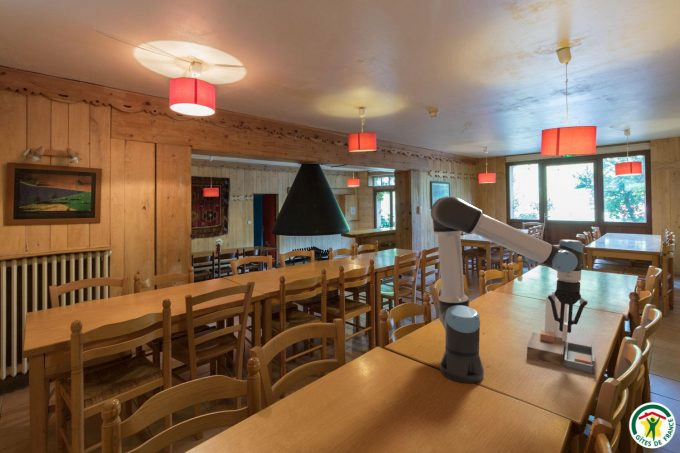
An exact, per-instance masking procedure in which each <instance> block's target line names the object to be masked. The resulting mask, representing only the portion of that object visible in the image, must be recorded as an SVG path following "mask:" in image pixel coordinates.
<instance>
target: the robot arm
mask: <svg viewBox="0 0 680 453" xmlns="http://www.w3.org/2000/svg"><path fill="white" fill-rule="evenodd" d="M430 217H431V219H432V225H433V226H432V227H433V233H434V234H435V235H437V241H438V243H437V244H438V253H439V255H438V256H439V270H440V284H441V294H440V295H439V296H438V309H437V316H438V319H439V321H440V323H441V324H442V326H443V329H444V331H445V346H444V348H445V349H444V352H443V355H442V358H441V360H440V365H439V371H440V373H441V374H442V375H443V376H444V377H445V378H447V379H450V380H452V381H455V382H458V383H463V384H464V383H466V384H473V383H474V384H475V383H479V382H480V381H483V379H484V376H485V368H484V366H483V362H482V360H481V357H480V356H481V355H480V334H481V333H480V327H481V320H480V319H481V318H480V314H479V311H477V310H476V309H474V308H471V307H470V300H469V296H468V295H466V294H465V284H464V269H463V256H462V254H463V253H462V241H461V239H462V238H461V235H462V233H465V234H467V235H470V234H475V235H476V236H479V237H481V238H483V239H486V240H488V241H490V242H492V243H493V244H494V243H495V244H497V245H499V246H501V247H504V248H505V249H508V250H510V251H512V252H514V253H517V254H519V255H520V256H523V257H524V260H525V262H527V264H532V265H533V264H534V265H542V266H544V267H546V268H549V269H552V270H554V271H556V273H557V275H556V278H557V280H556V289H555V291H554V292H555V293H554V294H552V293H551V294H548V296H547V297H548V299H549V300H550V302H551V306H552V311H553V315H554V320H555V321H558V322H559V323H560V326H559V330H560V331H562V332H563V334H562V341H565V342H568V333H569V334H571V333H572V327H573V326H572V325H578V323H579V320H580V317H581V315H582V313H583V310H584V307H586V306H588V303H589V302H588V300H587V299H584V298H583V297H582V295H581V281H582V266H583V254H584V245H583V242H582V241H580V240H576V239H560V240H559V243H558V244H551V243H549V242H547V241H545V240H542V239H540V238H538V237H535V236H534V235H531V234H530V233H527V232H524V231H523V230H520V229H518V228H515V227H513V226H511V225H509V224H507V223H504V222H502V221H499V220H498V219H496V218H493V217H491V216H489V215H487V214H484V213H483V210H482V209H480V208H478V207H476V206H474V205H472V204H469V203H468V202H466V201H465V200H463V199H461V198H459V197H457V196H443V197H440V198H439V199H437V200H435V201H434V203H433V204H432V206H431V209H430ZM555 296H556V297H557V299H558V300H559V301H560V302H561V310H560V318H559V317H558V314H557V309H556V304H555ZM578 301H579V307H578V310H577V312H576V313H575V314H576V315H575V317H574V319H573V308H574V305H575V304H576V303H577V302H578ZM565 304H568V311H567V323H565V322H564V310H565Z"/></svg>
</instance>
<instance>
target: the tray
mask: <svg viewBox="0 0 680 453" xmlns="http://www.w3.org/2000/svg"><path fill="white" fill-rule="evenodd" d="M575 354H579V355H584V356H588V357H591V365H589V364H584V363H580V362H575ZM595 361H596V360H595V348H594V342H593V341H591V345H586V344H580V343H576V342H575V343H574V342H569V341H565V351H564V359H563V367H564V368H565V369H570V370H574V371H577V372H583V373H585V374H586V373H587V374H590V373H592V374H591V375H595Z"/></svg>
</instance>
